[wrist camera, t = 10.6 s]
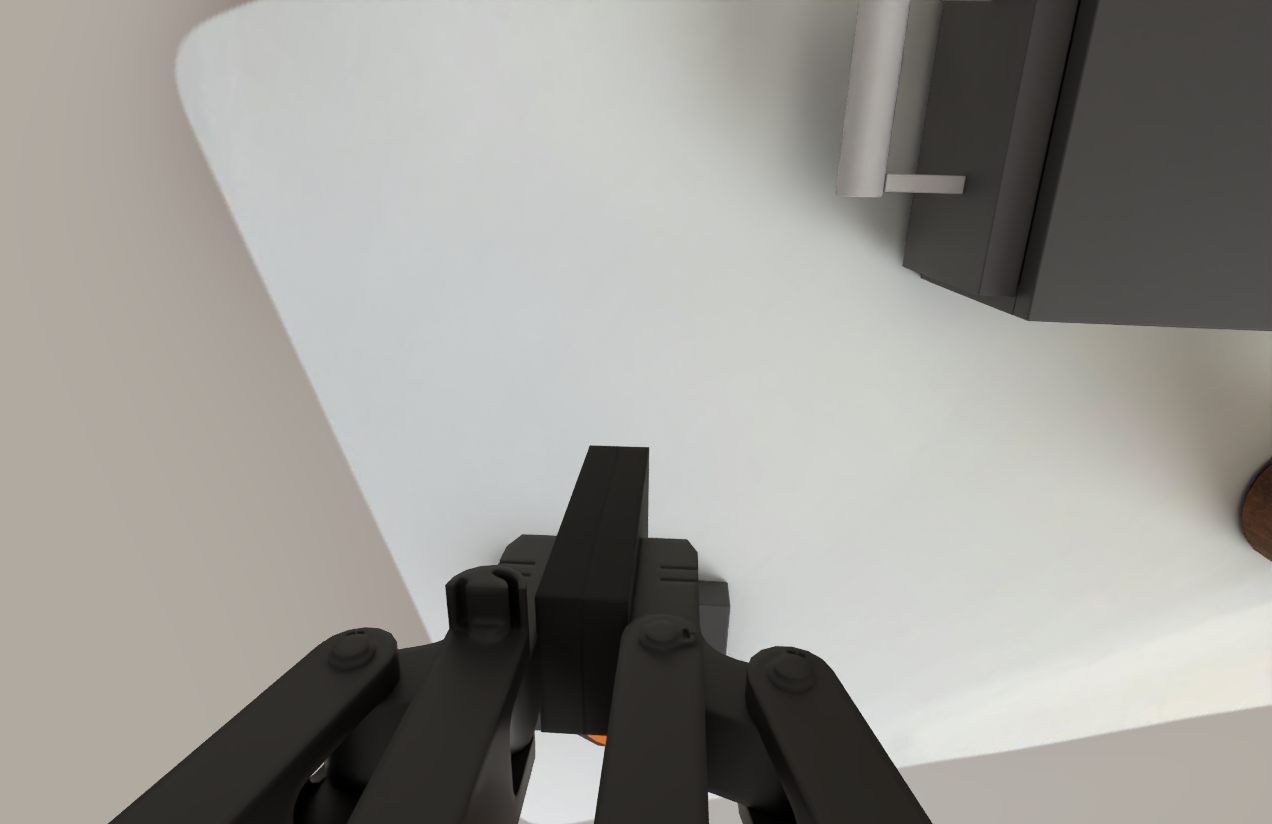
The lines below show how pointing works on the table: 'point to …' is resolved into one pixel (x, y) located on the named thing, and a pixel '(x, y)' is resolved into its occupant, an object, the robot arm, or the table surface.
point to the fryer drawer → (962, 131)
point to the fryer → (1156, 172)
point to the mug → (1259, 514)
